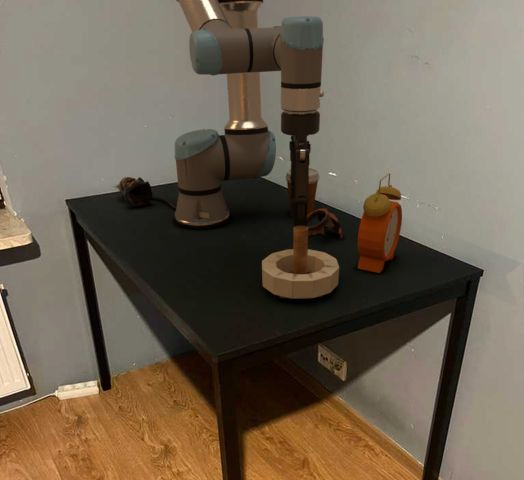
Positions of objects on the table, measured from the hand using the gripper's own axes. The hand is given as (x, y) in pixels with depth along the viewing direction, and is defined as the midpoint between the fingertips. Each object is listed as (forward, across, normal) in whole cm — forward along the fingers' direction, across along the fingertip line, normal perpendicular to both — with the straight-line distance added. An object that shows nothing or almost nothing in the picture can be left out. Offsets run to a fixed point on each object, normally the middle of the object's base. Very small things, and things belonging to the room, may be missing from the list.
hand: (298, 224), depth 117 cm
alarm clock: (+12, +6, -19) cm, 23 cm away
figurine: (+12, +55, +46) cm, 73 cm away
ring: (+10, -6, 0) cm, 12 cm away
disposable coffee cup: (+12, +40, -4) cm, 42 cm away
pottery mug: (+12, +23, -8) cm, 27 cm away
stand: (+12, -6, 0) cm, 14 cm away
